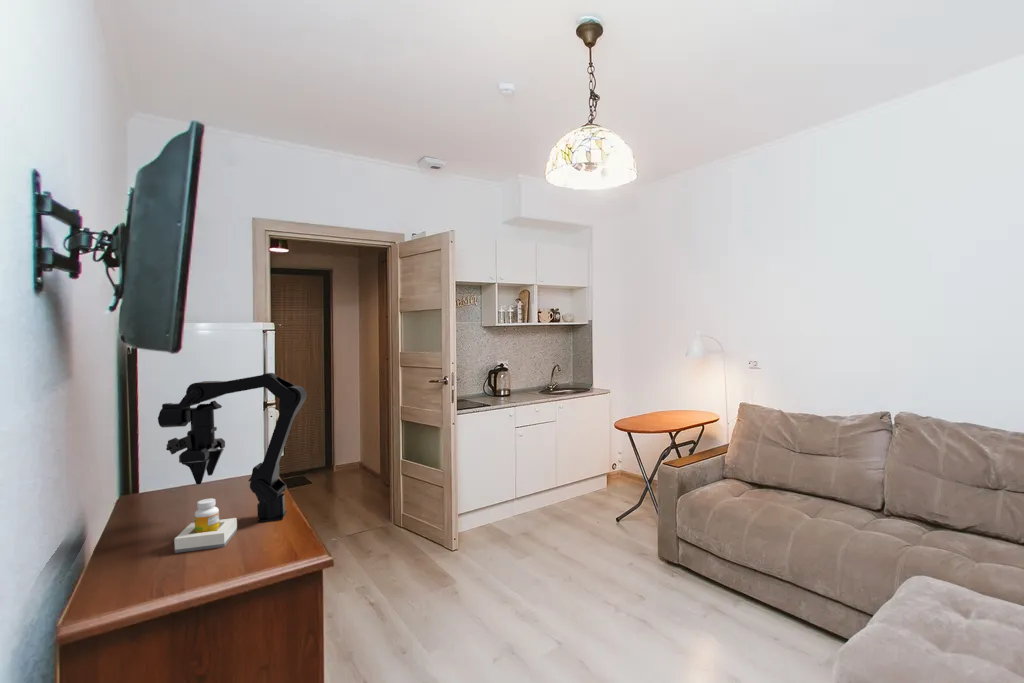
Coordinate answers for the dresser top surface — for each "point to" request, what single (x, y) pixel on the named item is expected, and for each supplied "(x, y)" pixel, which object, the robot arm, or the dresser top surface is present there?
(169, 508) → the dresser top surface
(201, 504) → the supplement bottle
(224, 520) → the socket block
